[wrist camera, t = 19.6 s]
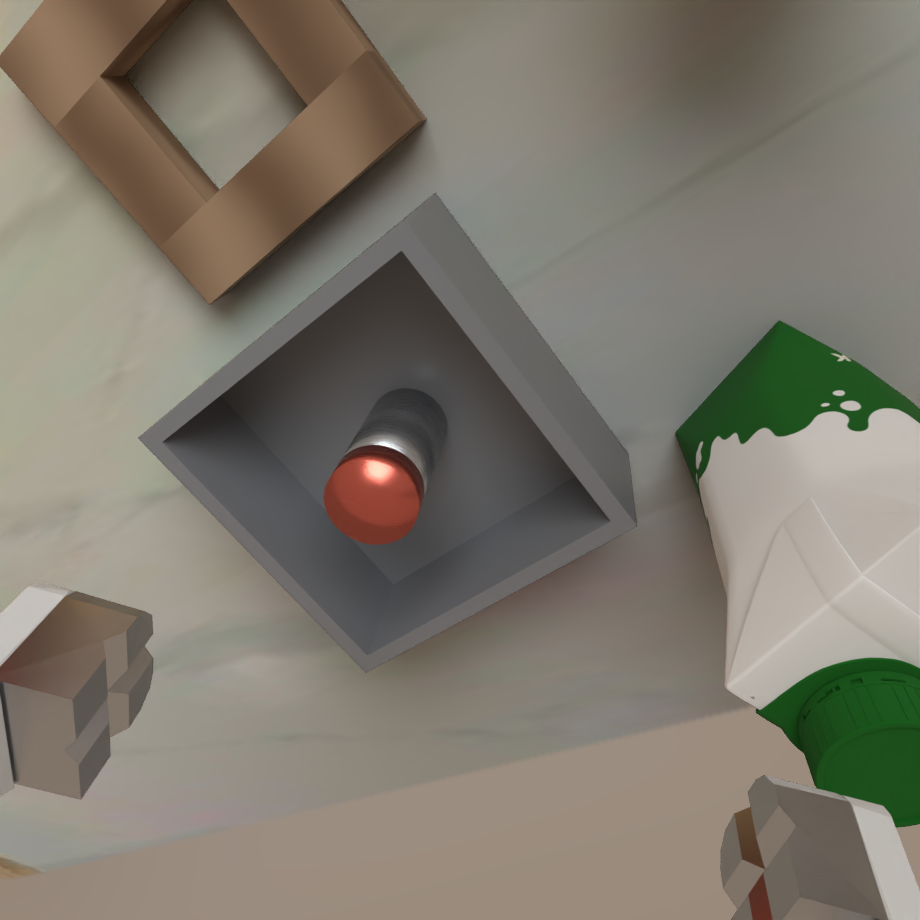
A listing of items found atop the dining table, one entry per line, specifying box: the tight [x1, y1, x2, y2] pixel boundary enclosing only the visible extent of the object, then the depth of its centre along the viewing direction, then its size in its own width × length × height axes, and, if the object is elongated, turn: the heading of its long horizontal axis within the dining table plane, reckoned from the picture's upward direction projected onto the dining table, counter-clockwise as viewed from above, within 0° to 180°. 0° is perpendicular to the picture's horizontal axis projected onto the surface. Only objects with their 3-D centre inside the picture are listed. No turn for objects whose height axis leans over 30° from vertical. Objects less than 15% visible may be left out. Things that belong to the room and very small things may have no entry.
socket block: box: [0, 0, 426, 305], centre depth 33 cm, size 13×13×2 cm
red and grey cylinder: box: [324, 388, 448, 545], centre depth 36 cm, size 4×4×8 cm
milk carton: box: [675, 321, 920, 827], centre depth 28 cm, size 9×9×20 cm
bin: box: [138, 193, 637, 672], centre depth 37 cm, size 16×16×7 cm
